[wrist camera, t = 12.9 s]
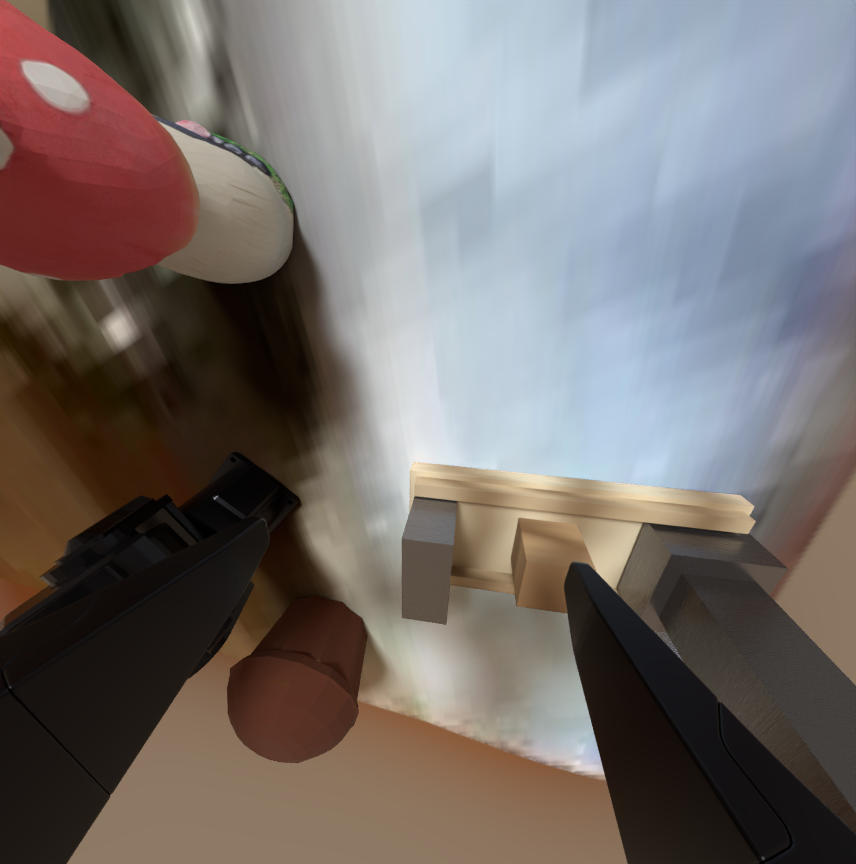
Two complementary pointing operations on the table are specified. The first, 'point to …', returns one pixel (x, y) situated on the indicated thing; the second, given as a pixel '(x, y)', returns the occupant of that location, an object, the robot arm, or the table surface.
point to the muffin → (300, 682)
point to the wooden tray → (561, 516)
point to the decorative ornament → (121, 177)
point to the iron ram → (749, 650)
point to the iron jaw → (428, 559)
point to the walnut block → (545, 562)
